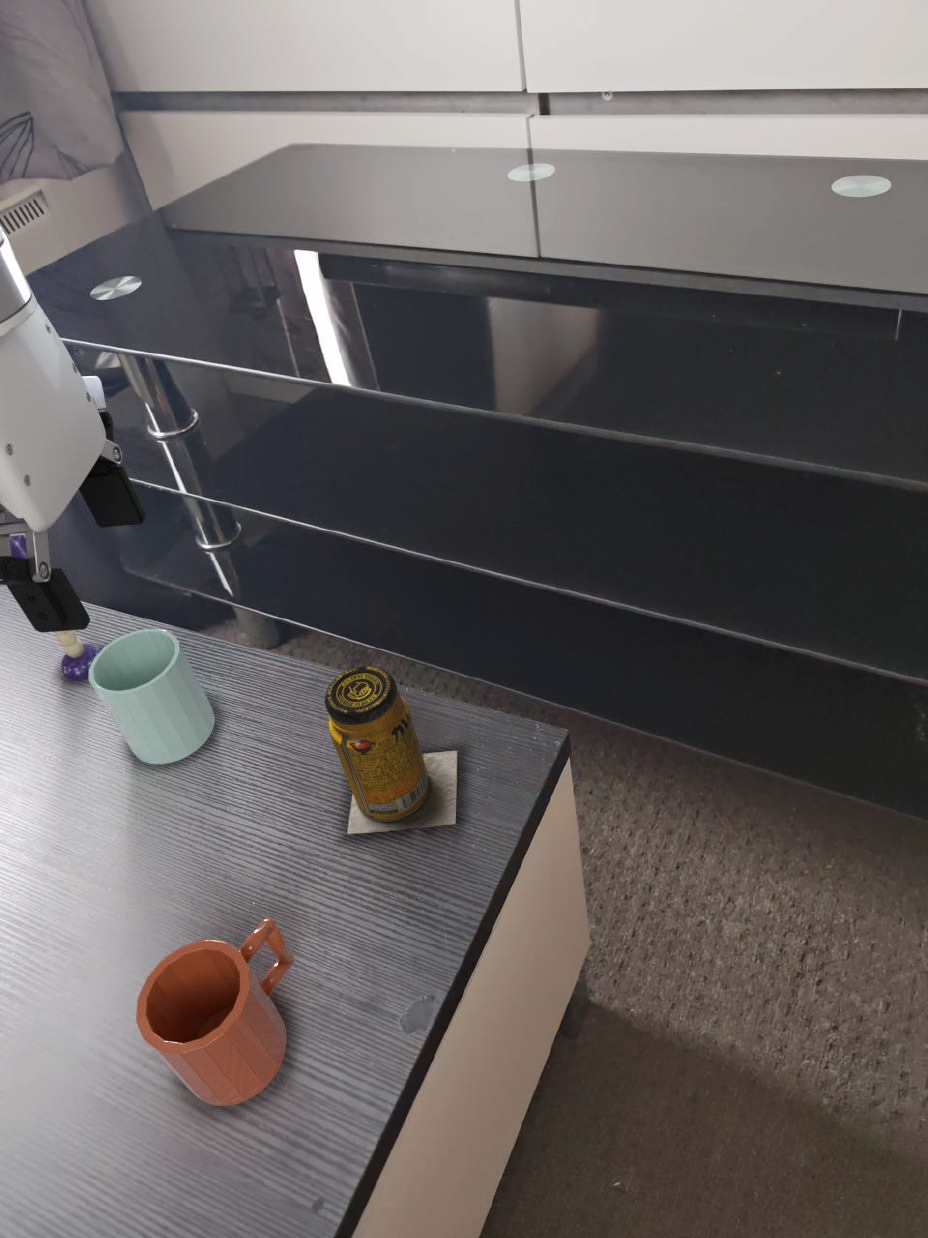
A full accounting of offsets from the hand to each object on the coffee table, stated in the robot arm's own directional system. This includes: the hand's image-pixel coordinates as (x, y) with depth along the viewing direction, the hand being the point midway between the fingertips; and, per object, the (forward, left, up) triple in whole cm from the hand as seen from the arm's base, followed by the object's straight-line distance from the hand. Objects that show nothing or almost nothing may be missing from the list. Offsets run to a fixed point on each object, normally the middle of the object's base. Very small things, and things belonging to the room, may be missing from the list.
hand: (96, 572), depth 55 cm
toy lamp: (-21, +20, -27) cm, 39 cm away
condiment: (+13, +3, -27) cm, 30 cm away
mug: (+5, -16, -27) cm, 31 cm away
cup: (-9, +11, -27) cm, 30 cm away
